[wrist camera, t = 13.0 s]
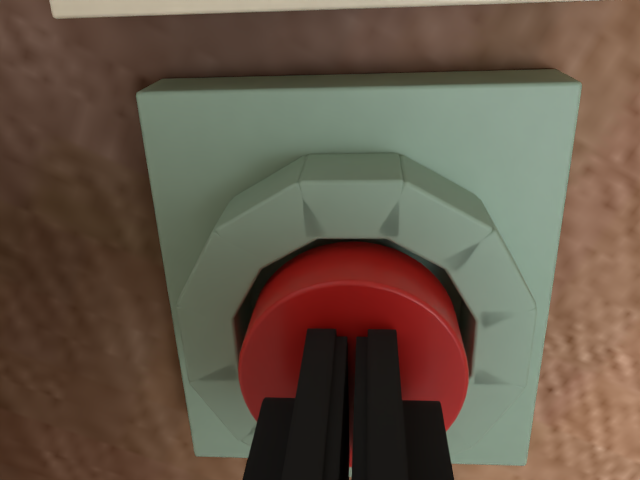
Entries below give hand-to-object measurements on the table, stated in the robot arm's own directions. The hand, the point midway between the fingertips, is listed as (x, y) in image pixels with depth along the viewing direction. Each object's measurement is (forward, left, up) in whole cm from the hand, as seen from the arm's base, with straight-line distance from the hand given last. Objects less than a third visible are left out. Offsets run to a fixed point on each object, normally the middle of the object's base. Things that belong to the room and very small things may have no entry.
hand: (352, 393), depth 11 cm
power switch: (0, 0, -5) cm, 5 cm away
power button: (0, 0, -2) cm, 2 cm away
